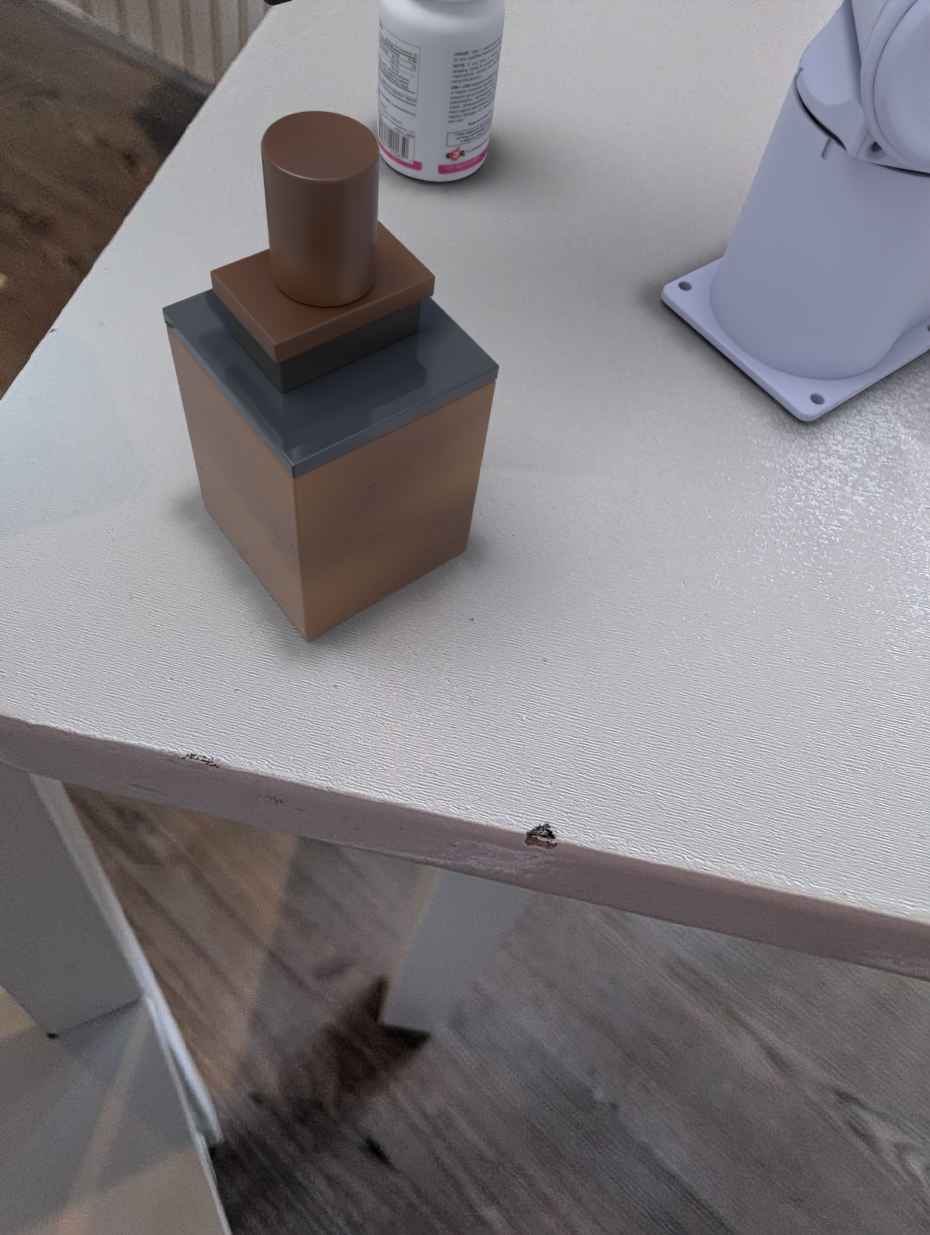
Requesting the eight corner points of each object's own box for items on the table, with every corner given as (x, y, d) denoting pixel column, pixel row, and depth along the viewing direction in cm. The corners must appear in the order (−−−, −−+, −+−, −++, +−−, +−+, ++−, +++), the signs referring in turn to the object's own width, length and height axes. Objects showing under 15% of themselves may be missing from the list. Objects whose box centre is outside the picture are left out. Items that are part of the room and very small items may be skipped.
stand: (360, 430, 33) (362, 244, 26) (467, 551, 31) (497, 379, 24) (203, 507, 30) (164, 322, 24) (306, 643, 28) (293, 480, 22)
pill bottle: (486, 123, 43) (513, -94, 36) (487, 190, 40) (517, -29, 33) (378, 113, 42) (384, -109, 35) (373, 180, 40) (378, -44, 33)
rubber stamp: (367, 269, 25) (370, 80, 21) (431, 334, 24) (448, 148, 20) (218, 331, 23) (188, 138, 19) (279, 403, 22) (263, 216, 18)
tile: (362, 244, 26) (363, 228, 26) (497, 379, 24) (500, 365, 24) (164, 322, 24) (160, 307, 24) (293, 480, 22) (292, 466, 22)
